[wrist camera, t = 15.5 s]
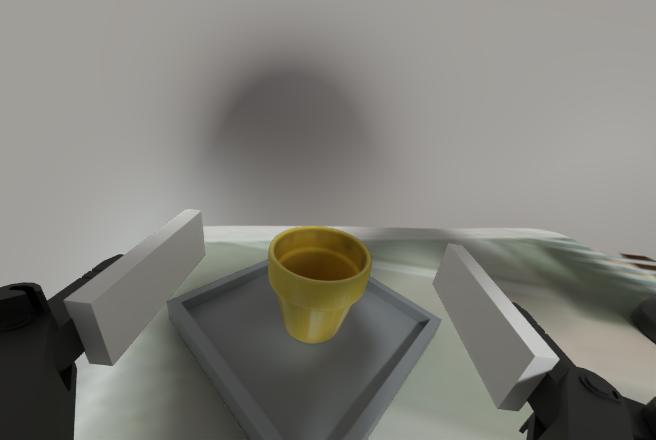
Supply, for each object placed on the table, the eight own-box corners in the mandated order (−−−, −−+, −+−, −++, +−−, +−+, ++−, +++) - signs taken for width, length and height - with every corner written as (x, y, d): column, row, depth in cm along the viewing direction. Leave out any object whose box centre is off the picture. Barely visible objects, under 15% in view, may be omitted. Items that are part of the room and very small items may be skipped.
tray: (434, 334, 32) (441, 319, 31) (309, 528, 16) (313, 511, 15) (310, 253, 44) (312, 241, 43) (169, 318, 28) (166, 301, 27)
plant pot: (244, 320, 28) (245, 244, 24) (306, 279, 36) (314, 216, 32) (316, 383, 23) (333, 301, 19) (370, 319, 31) (390, 251, 27)
